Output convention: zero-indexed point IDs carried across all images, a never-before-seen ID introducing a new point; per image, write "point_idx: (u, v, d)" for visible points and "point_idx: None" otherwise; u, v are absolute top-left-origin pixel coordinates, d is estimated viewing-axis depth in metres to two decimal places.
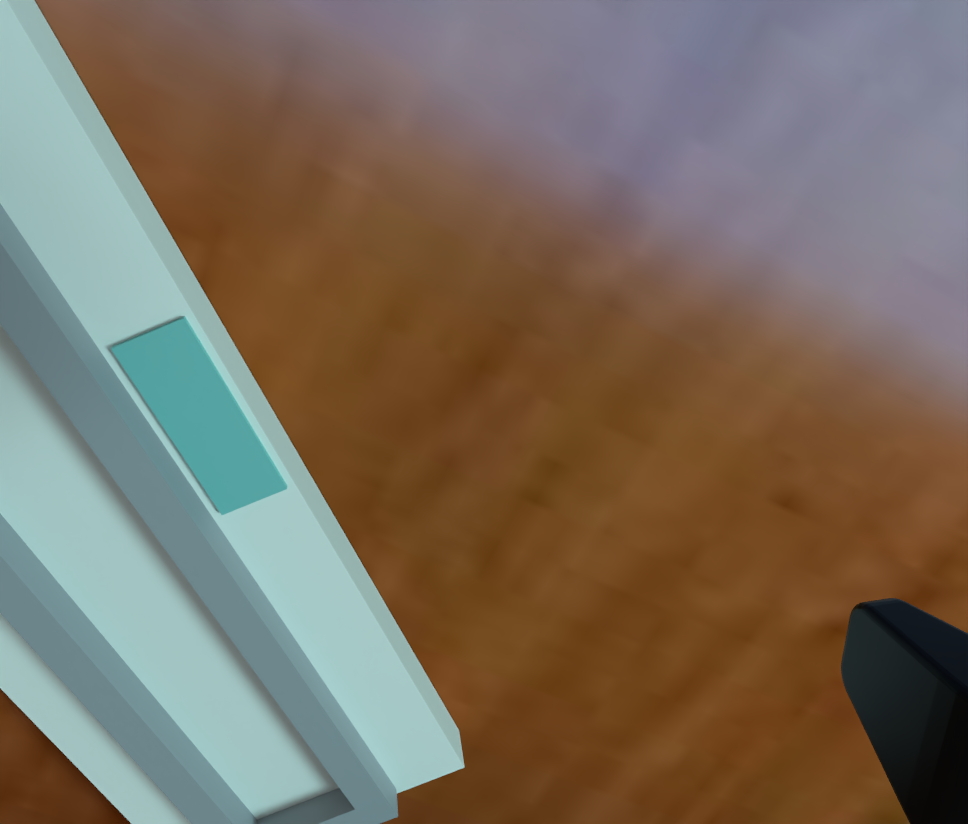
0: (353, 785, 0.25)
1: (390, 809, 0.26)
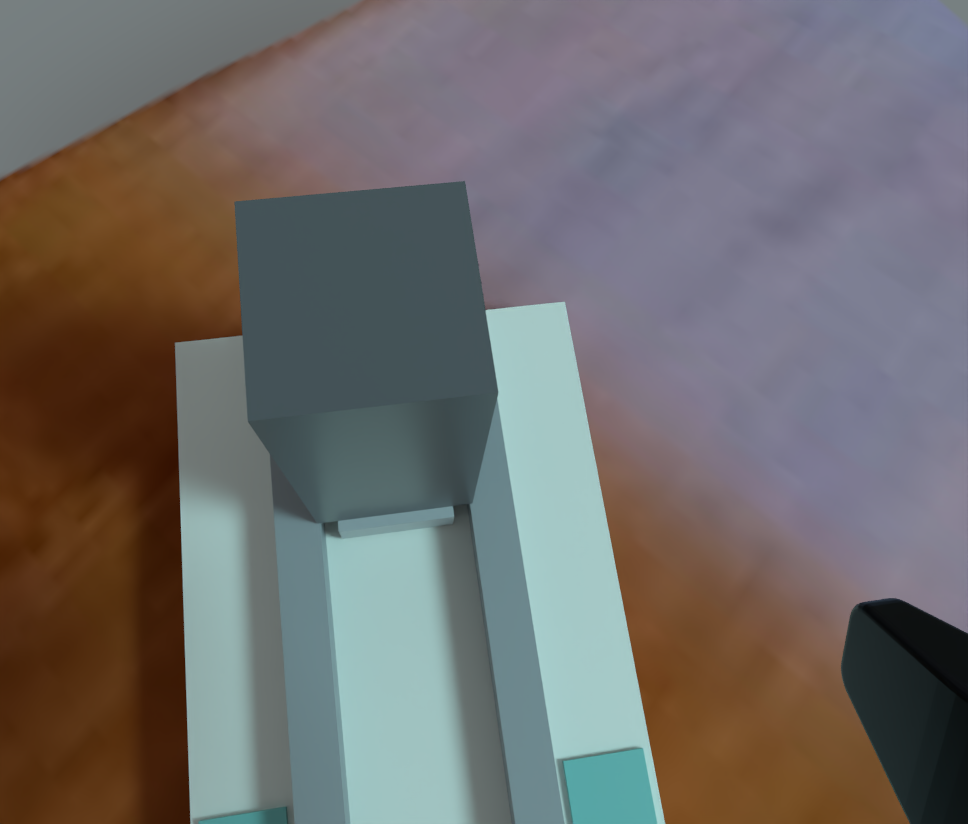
0: None
1: None
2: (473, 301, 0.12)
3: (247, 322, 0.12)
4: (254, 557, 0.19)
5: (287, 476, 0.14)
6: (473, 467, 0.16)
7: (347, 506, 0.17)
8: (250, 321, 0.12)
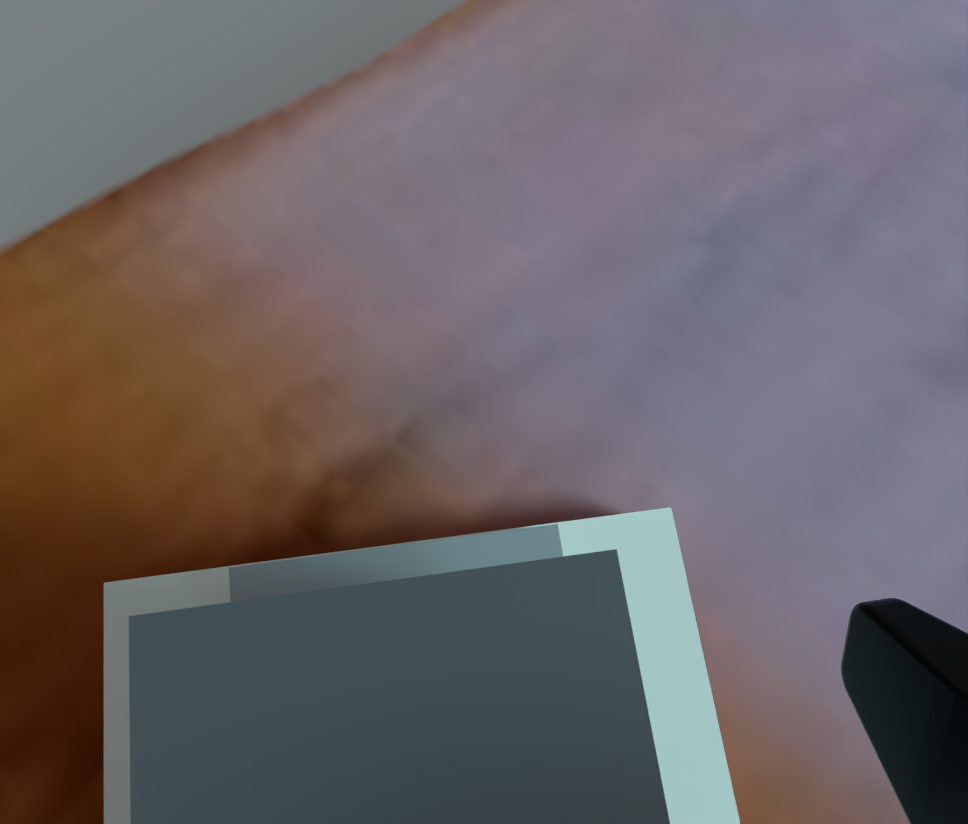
0: None
1: None
2: None
3: None
4: None
5: None
6: None
7: None
8: None
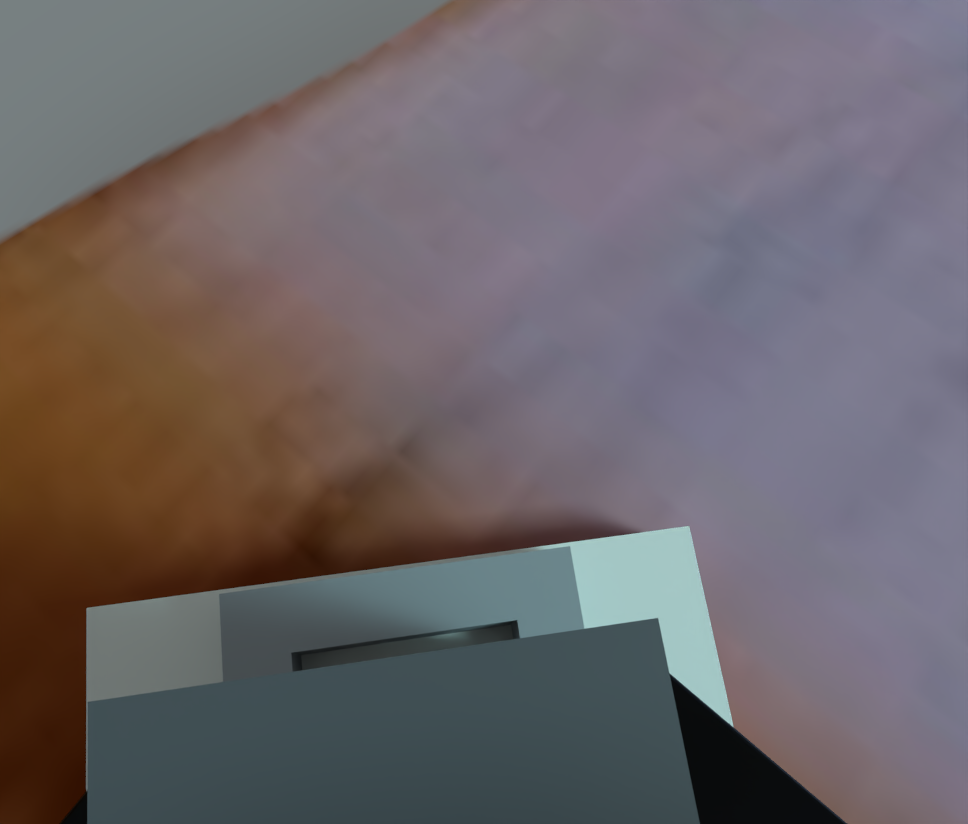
0: None
1: None
2: None
3: None
4: None
5: None
6: None
7: None
8: None
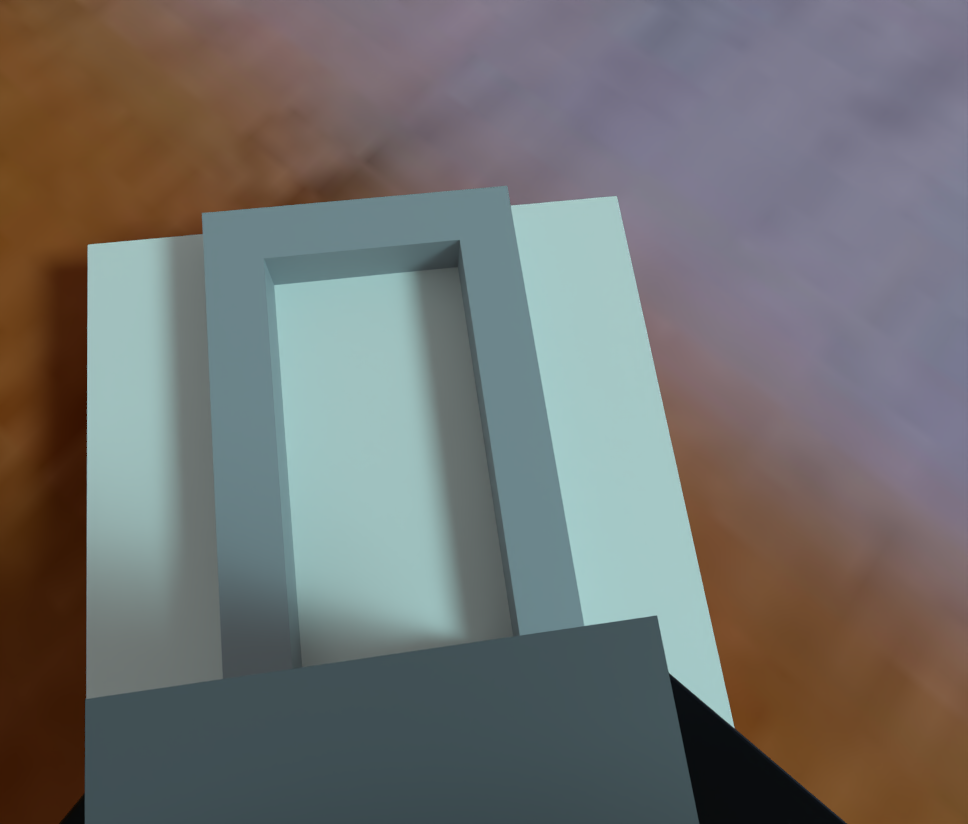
0: None
1: None
2: None
3: None
4: (189, 536, 0.14)
5: None
6: None
7: None
8: None
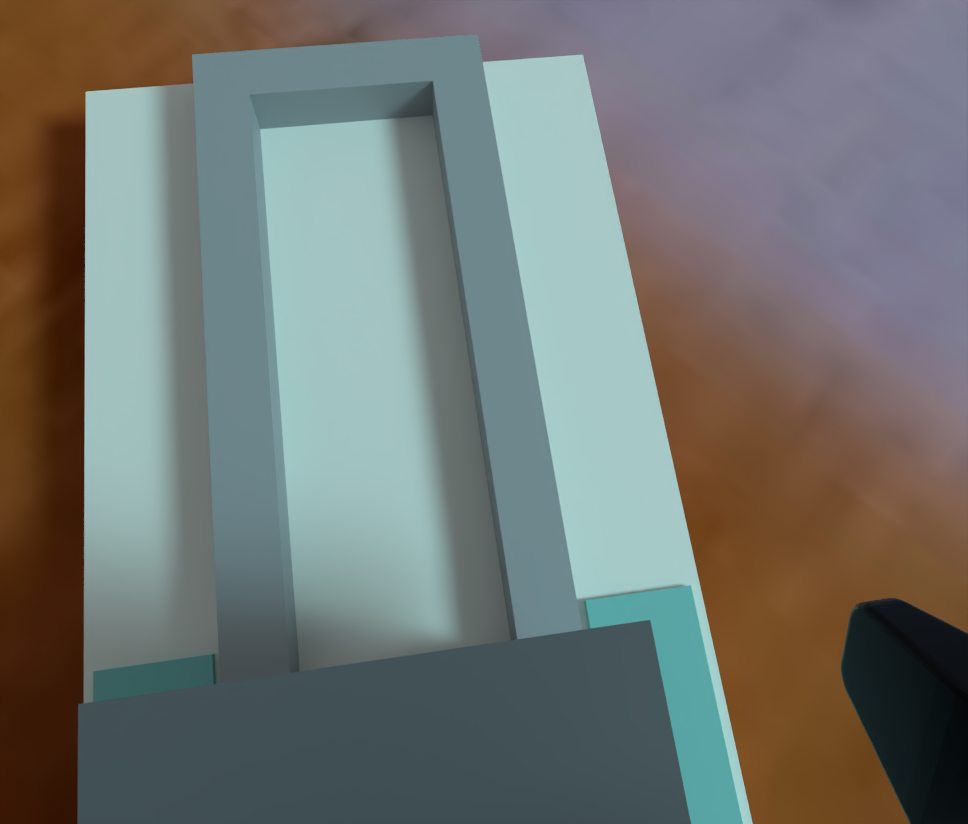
0: None
1: None
2: None
3: None
4: (180, 346, 0.15)
5: None
6: None
7: None
8: None
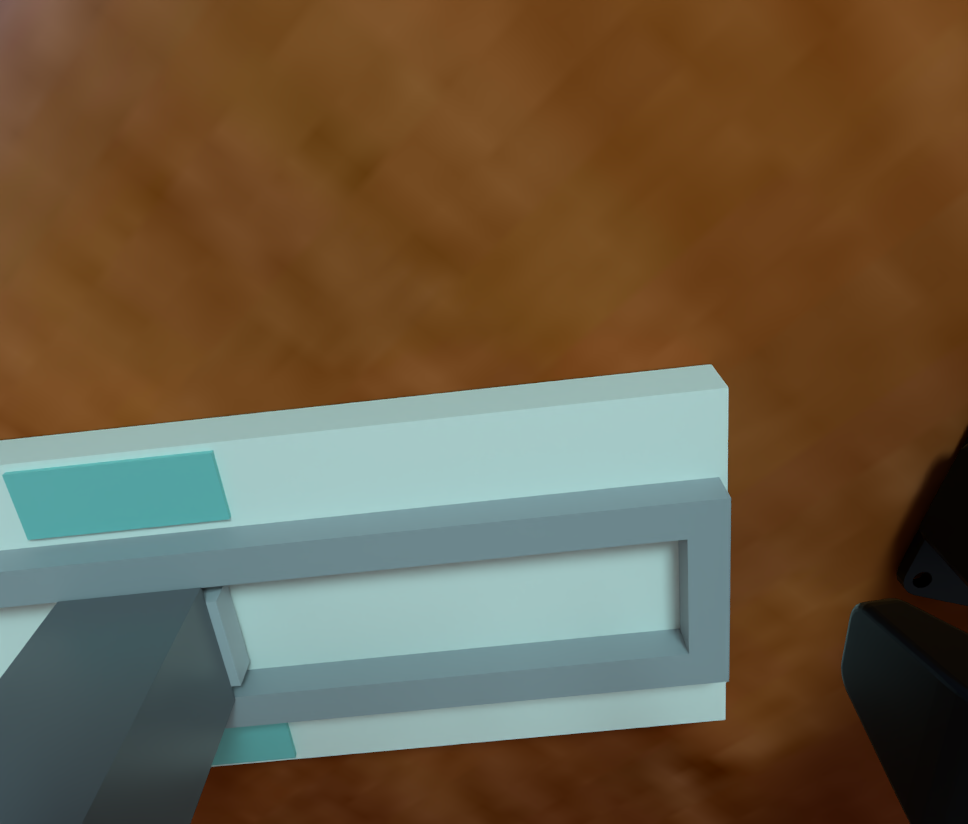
0: (644, 528, 0.19)
1: (711, 502, 0.19)
2: None
3: None
4: None
5: None
6: (152, 691, 0.17)
7: (212, 716, 0.19)
8: None
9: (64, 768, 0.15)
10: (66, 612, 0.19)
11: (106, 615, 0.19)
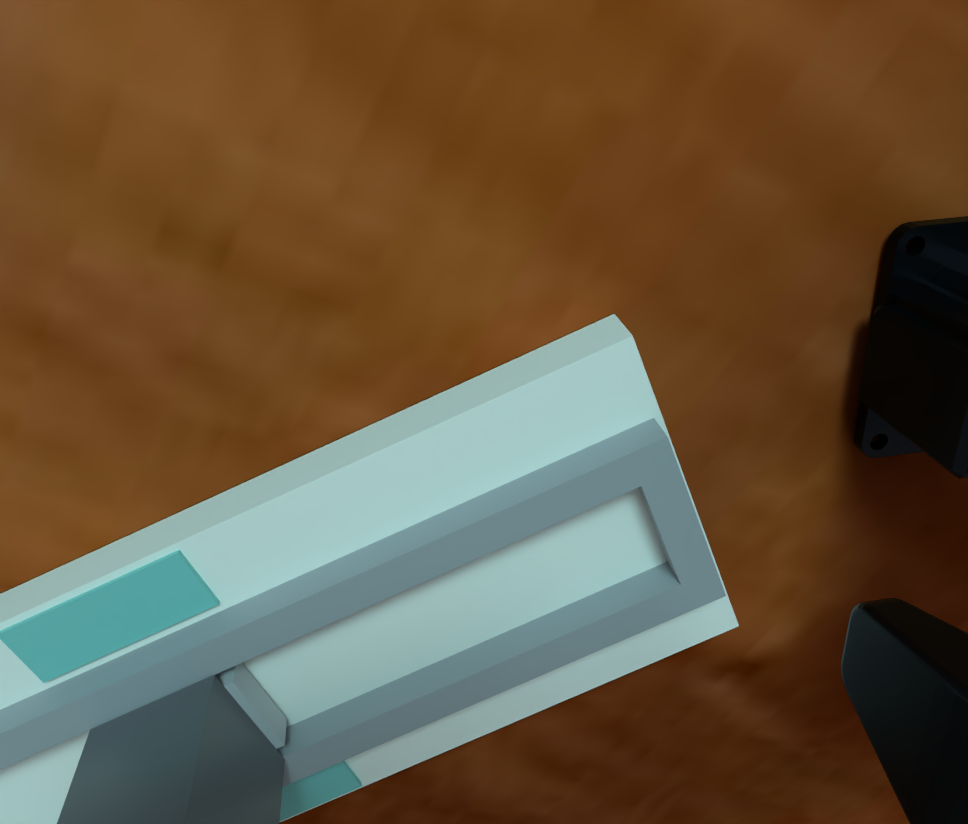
0: (598, 490, 0.20)
1: (651, 446, 0.19)
2: None
3: None
4: None
5: None
6: (195, 791, 0.18)
7: (265, 784, 0.21)
8: None
9: None
10: (100, 737, 0.20)
11: (136, 729, 0.20)
